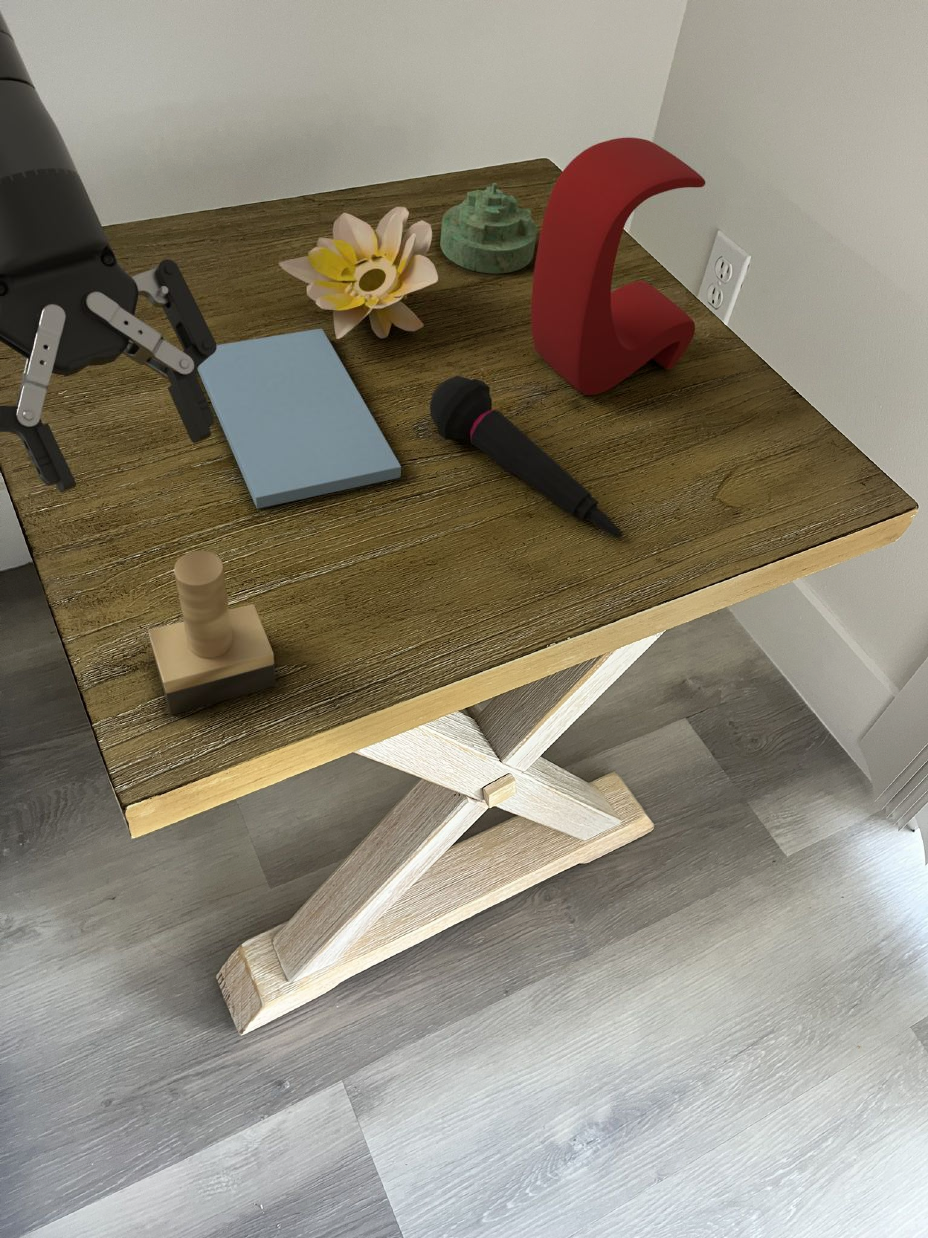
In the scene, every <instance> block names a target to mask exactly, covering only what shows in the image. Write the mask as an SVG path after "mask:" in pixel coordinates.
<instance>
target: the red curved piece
mask: <svg viewBox="0 0 928 1238" xmlns="http://www.w3.org/2000/svg"><path fill="white" fill-rule="evenodd" d="M705 185H706V180H705V178H704V177H703V176H702V175H701V174H700V173H699V172H697V171H696V170H695V169H693V168H692V167H691V166H689V164H687V163H686V162H684V161H683V160H681V159H680V158H678V157H677V156H675V154H673V153H671V152H670V151H668V150H667V149H665V148H663V147H662V146H660V145H659V144H656V143H655V142H653V141H651V140H648V139H645V138H639V137H629V136H627V137H618V138H612V139H609V140H604V141H601V142H598V143H596V144H593V145H591V146H589V147H588V148H586V149H584V150H583V151H582V152H580V153H579V154H578V155H576V156H575V157H574V158H573V159H572V160H571V161H570V162H569V163H568V164H567V166H565V168H564V169H563V170H562V172H561V173H560V175H559V177H558V178H557V179H556V181H555V183H554V185H553V188H552V190H551V192H550V196H549V198H548V201H547V204H546V208H545V211H544V215H543V219H542V223H541V227H540V233H539V239H538V245H537V252H536V256H535V263H534V270H533V278H532V288H531V300H530V328H531V329H530V331H531V336H532V342H533V346H534V349H535V350H536V353H538V355H539V356H540V357H541V358H542V359H543V360H544V361H545V363H546V364H548V365H549V367H551V369H553V370H554V371H555V372H556V373H557V374H558V375H559V376H560V377H561V378H562V379H564V381H566V382H567V383H568V384H569V385H570V386H571V387H572V388H573V389H575V390H577V391H578V392H579V393H581V394H583V395H586V396H595V395H599V394H602V393H604V392H607V391H609V390H611V389H613V388H614V387H616V386H617V385H618V384H620V383H622V382H623V381H624V380H626V379H627V378H629V377H630V376H631V375H632V374H634V373H635V372H636V371H638V370H639V369H640V368H641V367H643V366H644V365H645V364H647V363H648V362H649V361H650V360H653V361H654V363H656V364H658V365H659V366H660V367H662V368H664V369H665V370H667V371H668V370H669V371H670V370H672V369H673V368H674V367H675V366H676V364H677V363H678V362H679V360H680V359H681V357H682V356H683V355H684V354H685V352H686V351H687V349H688V347H689V346H690V344H691V342H692V340H693V338H694V335H695V332H696V324H695V321H694V320H693V318H691V317H690V315H688V313H686V311H684V310H683V309H682V308H681V307H679V305H677V304H676V303H675V302H674V301H673V300H672V299H670V298H669V297H667V295H665V294H664V293H663V292H661V291H660V290H658V289H657V288H656V287H655V286H653V285H651V284H650V283H648V282H646V281H645V280H637V281H633V282H629V283H627V284H624V285H621V286H620V287H618V288H616V289H614V290H613V291H612V282H613V275H614V270H615V269H614V268H615V263H616V259H617V255H618V250H619V246H620V242H621V239H622V235H623V232H624V228H625V226H626V223H627V222H628V219H629V218H630V216H631V215H632V213H633V212H634V211H635V210H636V209H637V208H638V207H639V206H640V205H641V204H643V203H644V202H645V201H647V200H649V199H650V198H652V197H654V196H656V195H660V194H662V193H665V192H669V191H672V190H677V189H684V188H685V189H686V188H704V187H705Z"/></svg>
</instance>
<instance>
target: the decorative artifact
mask: <svg viewBox="0 0 928 1238" xmlns="http://www.w3.org/2000/svg"><path fill="white" fill-rule="evenodd" d="M441 219H442V220H441V230H440V240H439V241H440V243H439V244H440V249H441V251H442V253H443V255H444V256H445V257H446V258H447V259H448V260H449V261H451V262H452V263H453V264H454V265H457V266H459V267H461V268H464V269H467V270H469V271H473V272H477V273H483V274H493V275H497V274H498V275H499V274H508V273H512V272H513V273H514V272H516V271H519V270H521V269H524V268H525V267H526V266H527V265H529V264H530V263H531V261H532V260H533V258H534V253H535V248H536V247H535V246H536V241H537V236H538V235H537V234H538V228H537V225H536V222H535V221H534V220H533V219H532V211H531V209H530V208H521V206H520V205H519V204H518V201H517V199H516V197H515V196H514V195H512V194H510V195H506V194H504V191H503V190H501V189H499V188H498V183H497V182H493V183H492V186H486V187H485V189H483V190H481V189H480V190H479V189H476V190H472V191H471V190H470V191H468V192H466V198H464V199H463V201H462V202H461V203H459V204H457V205H454V206H452V207H450V208H448V209H447V210H446V211H445V213H444V214H443V216H442V218H441Z"/></svg>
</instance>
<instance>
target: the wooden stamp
mask: <svg viewBox="0 0 928 1238" xmlns="http://www.w3.org/2000/svg"><path fill="white" fill-rule="evenodd" d="M173 572H174V577H175V582H176V583H175V584H176V589H177V593H178V598H179V603H180V609H181V615H182V620H183V621H180V622H175V623H171V624H167V625H163V626H159V627H156V628H152V629H148V630H147V634H148V639H149V642H150V646H151V651H152V656H153V659H154V664H155V668H156V671H157V674H158V678H159V681H160V684H161V687H162V690H163V694H164V698H165V700H166V701H165V702H166V704H167V707H168V711H169V714H170V716H174V715H177V714H181V713H185V712H188V711H193V710H195V709H200V708H202V707H203V708H204V707H206V706H211V705H213V704H217V703H221V702H225V701H228V700H231V699H234V698H238V697H242V696H246V695H249V694H252V693H256V692H259V691H260V692H261V691H263V690H267V689H271V688H274V687H276V686H277V680H276V679H277V678H276V668H275V656H274V655H275V653H274V651H273V649H272V645H271V643H270V641H269V638H268V636H267V633H266V631H265V628H264V625H263V623H262V620H261V617H260V615H259V613H258V610H257V608H256V605H255V604H254V603H252V604H247V605H245V606H239V607H236V608H231V609H230V607H229V599H228V593H227V585H226V584H227V583H226V576H225V569H224V563H223V562H222V559H221V558H220V557H219V556H218V555H217V554H216V553H213V552H212V551H208V550H207V551H206V550H193V551H190V552H187V553H185V554H183V555H182V556H180V557H179V558H178V560H177V561H176V562H175V564H174V568H173Z"/></svg>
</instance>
